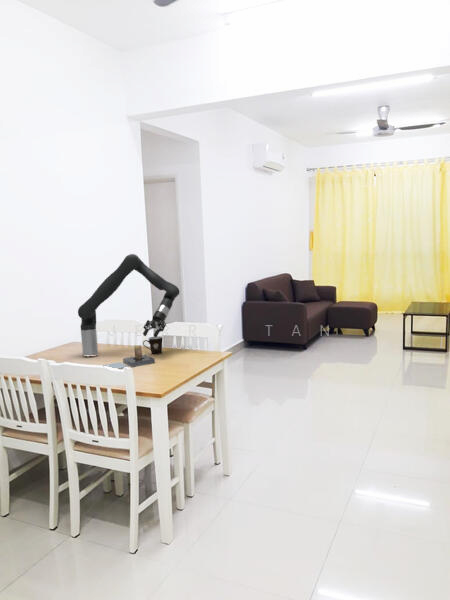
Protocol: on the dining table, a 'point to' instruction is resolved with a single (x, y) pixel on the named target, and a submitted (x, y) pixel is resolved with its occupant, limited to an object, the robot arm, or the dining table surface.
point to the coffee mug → (155, 345)
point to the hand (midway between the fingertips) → (149, 335)
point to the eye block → (138, 361)
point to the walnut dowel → (138, 352)
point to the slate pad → (116, 365)
